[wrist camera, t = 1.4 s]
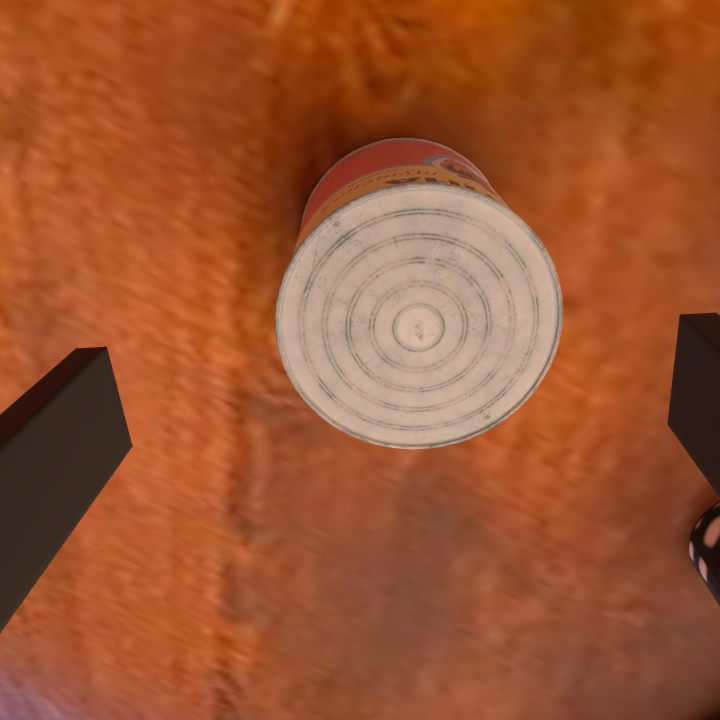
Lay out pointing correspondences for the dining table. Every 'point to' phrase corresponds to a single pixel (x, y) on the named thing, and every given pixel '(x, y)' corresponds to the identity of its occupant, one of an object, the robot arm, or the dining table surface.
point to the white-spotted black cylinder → (708, 550)
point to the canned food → (415, 299)
